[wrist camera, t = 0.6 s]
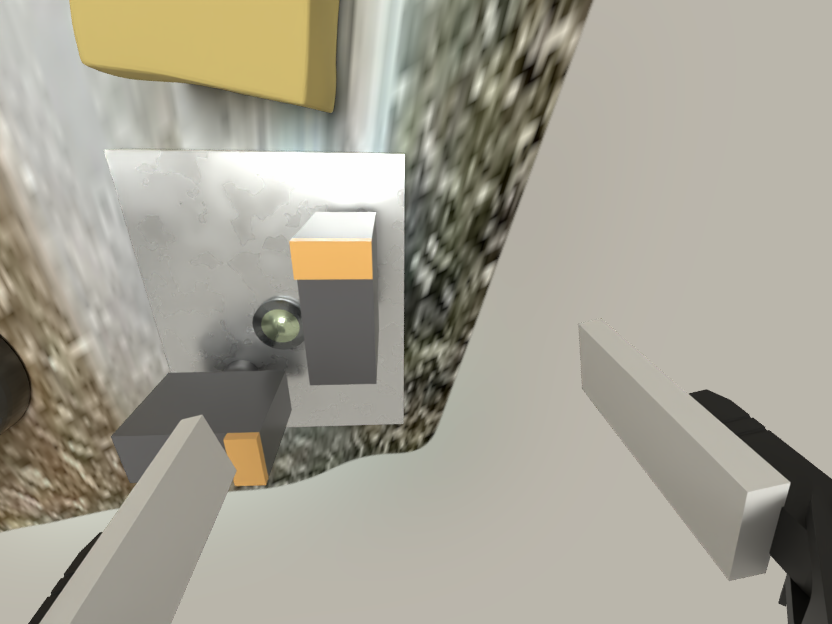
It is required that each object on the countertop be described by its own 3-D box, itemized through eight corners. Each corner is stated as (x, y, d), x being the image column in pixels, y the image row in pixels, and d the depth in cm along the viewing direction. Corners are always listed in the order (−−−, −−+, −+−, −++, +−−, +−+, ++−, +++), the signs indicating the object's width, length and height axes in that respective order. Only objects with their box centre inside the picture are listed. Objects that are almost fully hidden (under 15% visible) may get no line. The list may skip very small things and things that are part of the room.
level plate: (197, 415, 38) (184, 435, 35) (122, 148, 28) (97, 150, 25) (402, 410, 39) (403, 428, 37) (403, 152, 29) (404, 154, 26)
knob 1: (194, 394, 34) (124, 490, 25) (184, 355, 33) (104, 443, 23) (298, 392, 35) (265, 484, 26) (292, 353, 33) (256, 438, 24)
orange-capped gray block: (379, 316, 32) (376, 389, 23) (331, 316, 32) (307, 391, 23) (377, 205, 28) (371, 241, 19) (321, 205, 28) (289, 241, 19)
